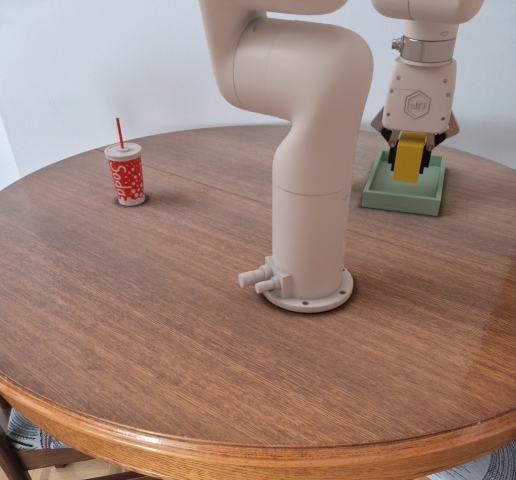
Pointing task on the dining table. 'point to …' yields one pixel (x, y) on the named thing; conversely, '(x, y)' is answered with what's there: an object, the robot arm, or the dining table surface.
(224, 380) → the dining table surface
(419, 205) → the pan
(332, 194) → the robot arm
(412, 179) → the yellow rectangular block
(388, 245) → the dining table surface
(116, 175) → the beverage cup
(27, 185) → the dining table surface
